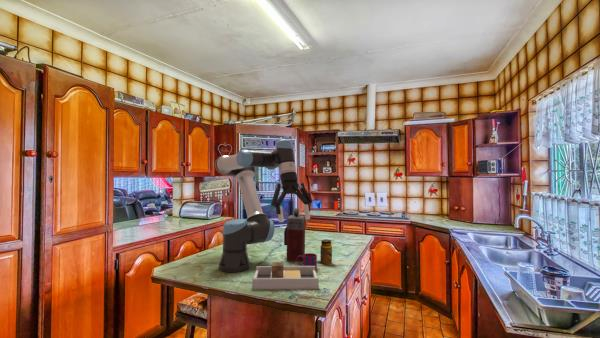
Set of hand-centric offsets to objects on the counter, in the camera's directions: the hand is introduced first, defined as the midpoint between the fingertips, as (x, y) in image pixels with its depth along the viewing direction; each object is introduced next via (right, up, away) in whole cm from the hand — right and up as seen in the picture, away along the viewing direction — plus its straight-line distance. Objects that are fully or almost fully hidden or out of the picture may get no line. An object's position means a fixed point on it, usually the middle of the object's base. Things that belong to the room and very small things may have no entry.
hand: (295, 220), depth 119 cm
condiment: (+15, -28, +27) cm, 42 cm away
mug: (+5, -27, +19) cm, 34 cm away
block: (-8, -24, +1) cm, 25 cm away
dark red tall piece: (-1, -28, +34) cm, 44 cm away
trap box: (-4, -27, +2) cm, 27 cm away
